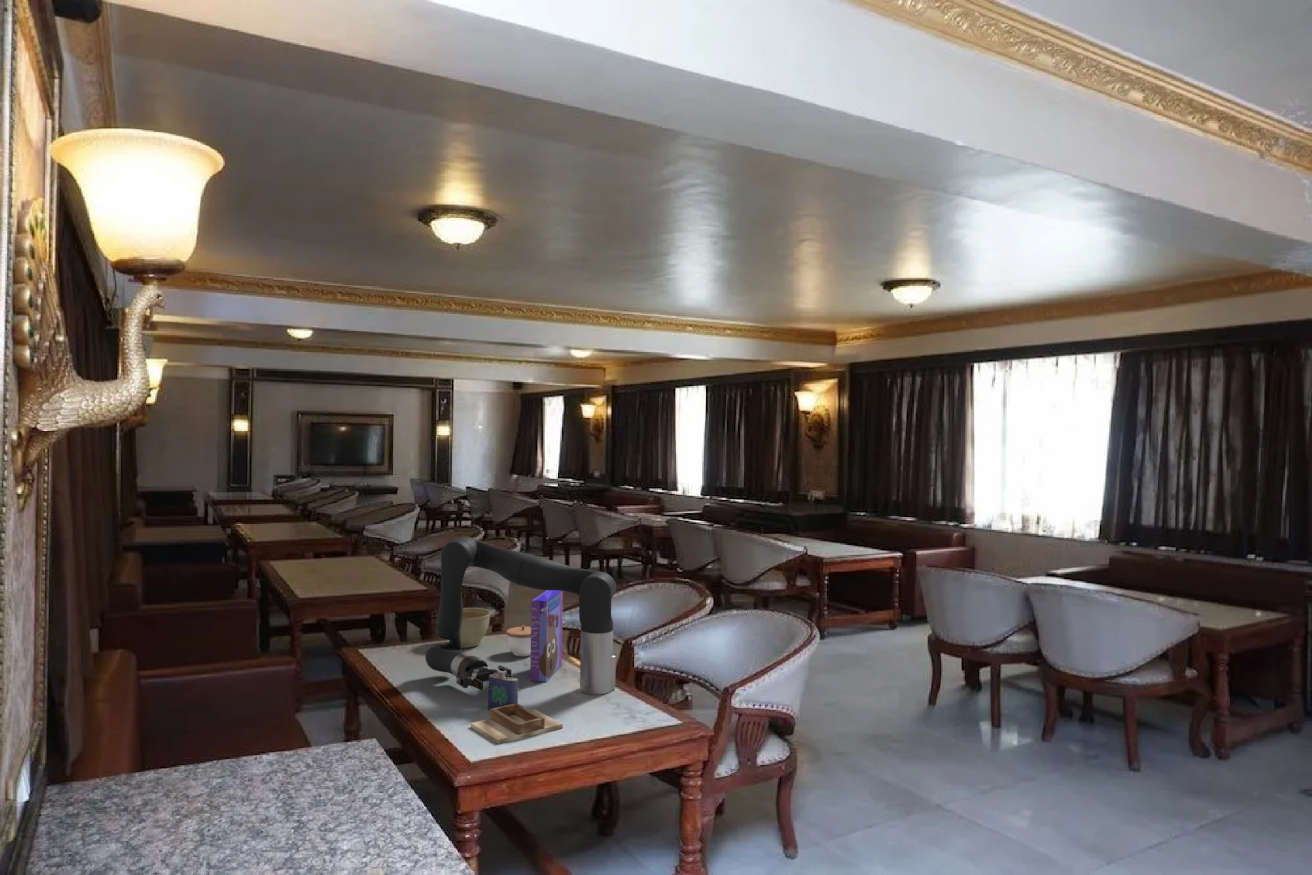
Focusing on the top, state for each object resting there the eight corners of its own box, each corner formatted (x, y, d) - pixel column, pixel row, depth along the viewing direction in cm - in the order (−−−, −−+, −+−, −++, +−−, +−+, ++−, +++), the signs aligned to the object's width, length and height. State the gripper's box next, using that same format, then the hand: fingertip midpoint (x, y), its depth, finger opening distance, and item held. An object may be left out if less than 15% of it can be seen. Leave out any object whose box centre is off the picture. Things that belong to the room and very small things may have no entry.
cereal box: (545, 682, 251) (547, 600, 250) (530, 681, 251) (531, 599, 251) (561, 665, 268) (562, 589, 267) (547, 664, 269) (548, 588, 268)
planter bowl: (439, 640, 296) (440, 609, 296) (487, 637, 301) (487, 606, 301) (442, 652, 281) (443, 619, 280) (492, 649, 286) (492, 616, 285)
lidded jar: (542, 656, 278) (543, 627, 277) (509, 659, 274) (510, 630, 274) (534, 648, 288) (535, 620, 287) (503, 651, 284) (503, 622, 283)
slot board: (533, 712, 225) (533, 699, 225) (562, 727, 214) (562, 714, 214) (470, 726, 213) (471, 713, 213) (498, 744, 202) (498, 729, 202)
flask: (519, 712, 225) (520, 671, 224) (512, 715, 222) (513, 674, 222) (491, 706, 229) (491, 666, 229) (484, 709, 226) (484, 669, 226)
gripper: (445, 659, 236) (472, 673, 223) (492, 651, 245) (520, 664, 232) (445, 686, 236) (472, 702, 224) (492, 677, 245) (520, 692, 232)
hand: (496, 683), depth 228 cm, fingers open, 8 cm apart
